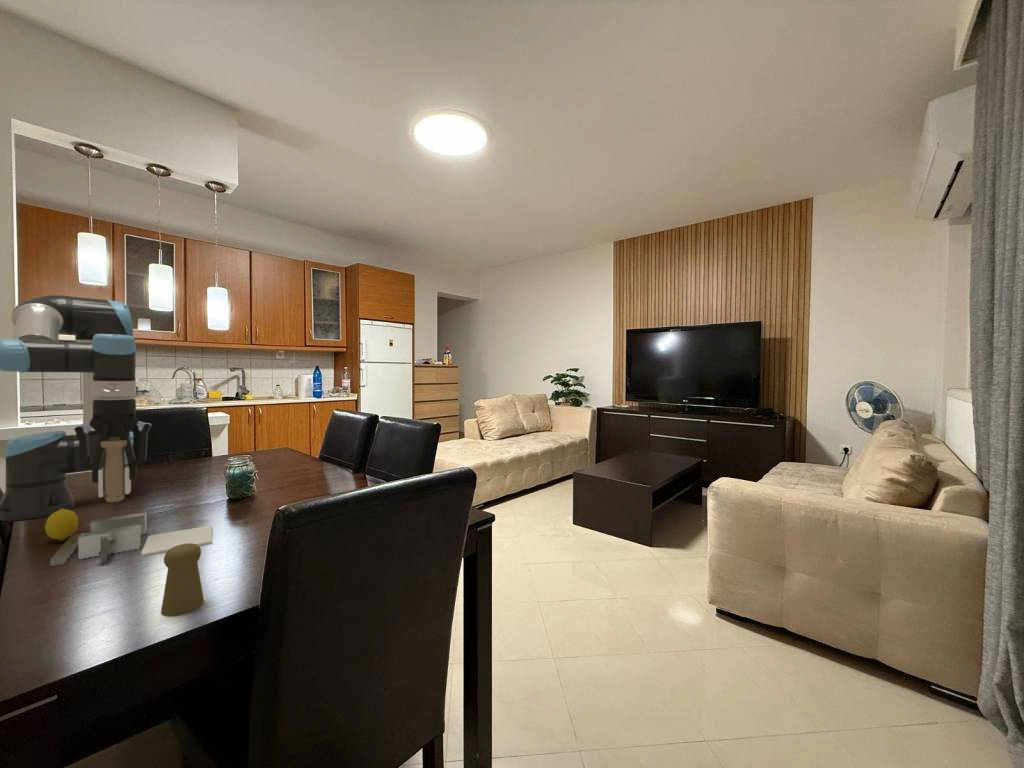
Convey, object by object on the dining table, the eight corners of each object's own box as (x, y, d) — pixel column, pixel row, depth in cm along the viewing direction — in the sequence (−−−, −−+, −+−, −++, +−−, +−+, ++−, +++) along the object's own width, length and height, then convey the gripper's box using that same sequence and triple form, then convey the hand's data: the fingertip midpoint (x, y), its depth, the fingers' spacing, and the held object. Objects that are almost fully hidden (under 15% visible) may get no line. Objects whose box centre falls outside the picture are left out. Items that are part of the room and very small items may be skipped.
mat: (148, 538, 104) (148, 535, 104) (212, 527, 111) (212, 525, 111) (140, 556, 93) (140, 554, 93) (211, 543, 101) (211, 541, 101)
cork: (177, 598, 77) (177, 539, 76) (211, 597, 77) (211, 539, 77) (151, 617, 70) (151, 553, 70) (189, 615, 71) (188, 553, 71)
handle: (98, 506, 96) (98, 442, 95) (103, 498, 101) (103, 438, 100) (126, 502, 99) (126, 440, 98) (130, 495, 104) (130, 436, 103)
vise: (71, 545, 101) (71, 517, 101) (147, 533, 109) (147, 507, 109) (42, 581, 84) (41, 547, 84) (134, 563, 92) (134, 532, 92)
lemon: (82, 538, 103) (82, 507, 103) (50, 546, 98) (50, 513, 98) (72, 534, 105) (72, 503, 105) (41, 542, 100) (40, 510, 100)
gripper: (58, 400, 91) (59, 504, 92) (159, 398, 101) (159, 492, 102) (68, 397, 97) (69, 495, 98) (162, 396, 107) (162, 485, 108)
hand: (115, 493), depth 100 cm, fingers closed on handle, 4 cm apart
